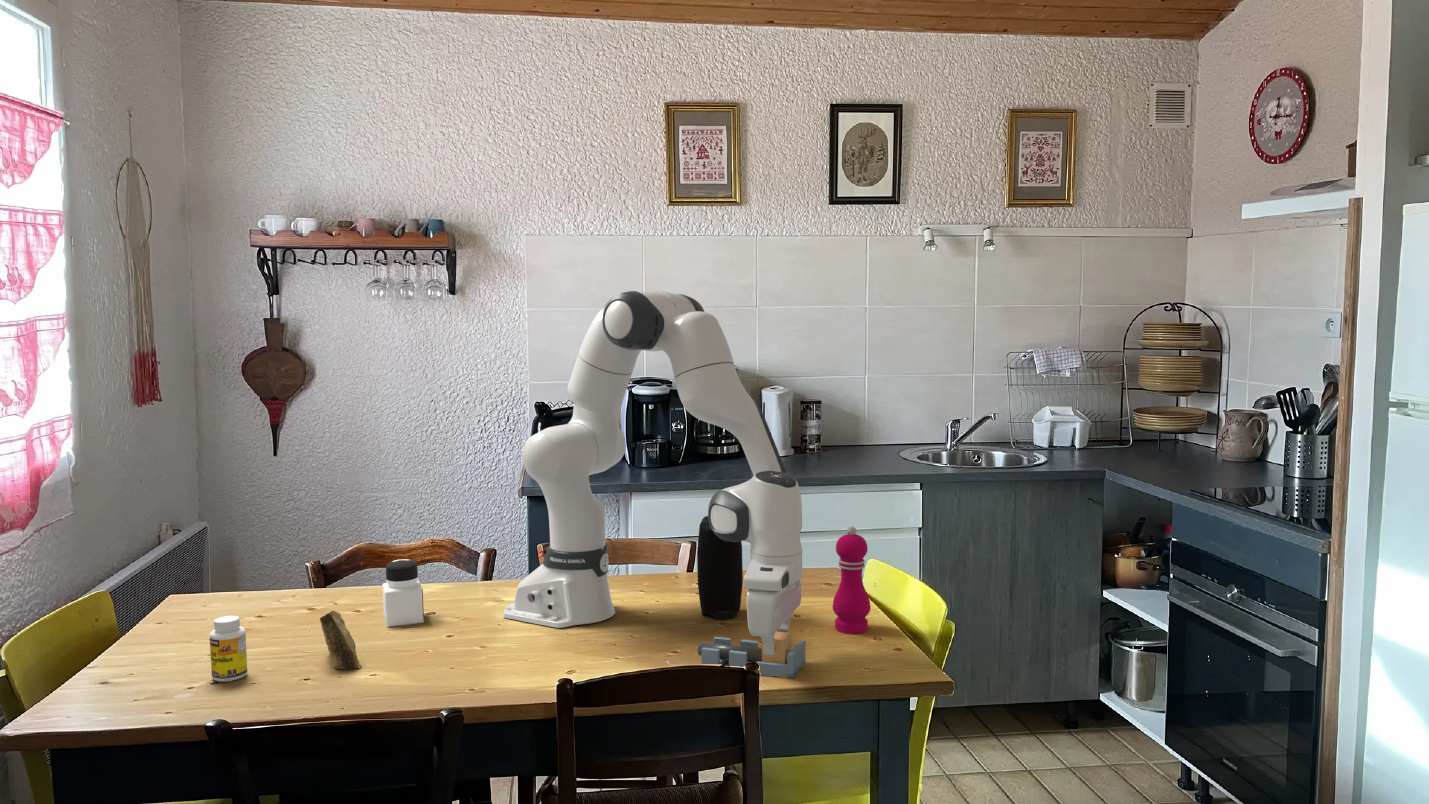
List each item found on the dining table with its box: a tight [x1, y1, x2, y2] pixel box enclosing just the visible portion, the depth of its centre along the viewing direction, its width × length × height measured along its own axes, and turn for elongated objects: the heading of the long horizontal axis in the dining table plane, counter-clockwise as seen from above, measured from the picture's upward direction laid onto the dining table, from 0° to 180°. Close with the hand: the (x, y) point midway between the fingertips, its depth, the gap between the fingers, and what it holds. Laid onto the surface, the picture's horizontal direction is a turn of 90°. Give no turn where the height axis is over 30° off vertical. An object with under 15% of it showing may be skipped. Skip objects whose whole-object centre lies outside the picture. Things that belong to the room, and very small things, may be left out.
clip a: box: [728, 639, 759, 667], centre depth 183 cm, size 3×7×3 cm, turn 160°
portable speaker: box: [696, 515, 744, 621], centre depth 211 cm, size 9×9×20 cm
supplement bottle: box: [209, 615, 248, 682], centre depth 180 cm, size 6×6×10 cm
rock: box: [319, 610, 361, 670], centre depth 188 cm, size 11×9×10 cm
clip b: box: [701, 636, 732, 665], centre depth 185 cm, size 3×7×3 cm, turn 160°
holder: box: [755, 639, 806, 680], centre depth 181 cm, size 7×8×4 cm
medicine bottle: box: [382, 558, 425, 628], centre depth 210 cm, size 7×7×12 cm
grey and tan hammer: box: [697, 630, 792, 665], centre depth 183 cm, size 16×4×5 cm, turn 70°
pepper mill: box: [832, 525, 872, 635], centre depth 201 cm, size 7×7×20 cm
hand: (776, 646), depth 181 cm, fingers open, 6 cm apart
